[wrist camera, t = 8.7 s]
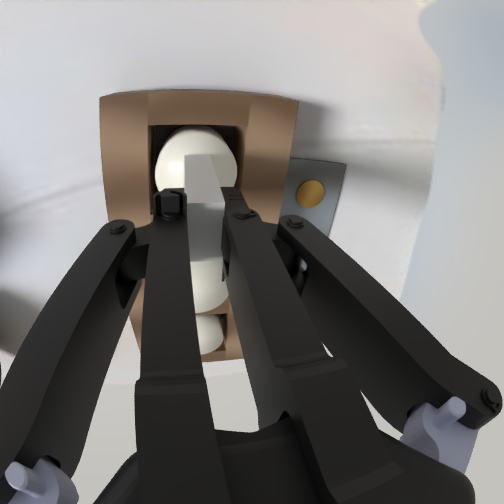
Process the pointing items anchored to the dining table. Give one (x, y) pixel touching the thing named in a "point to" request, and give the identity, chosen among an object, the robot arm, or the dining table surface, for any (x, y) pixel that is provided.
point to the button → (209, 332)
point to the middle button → (208, 285)
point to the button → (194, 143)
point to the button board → (246, 156)
